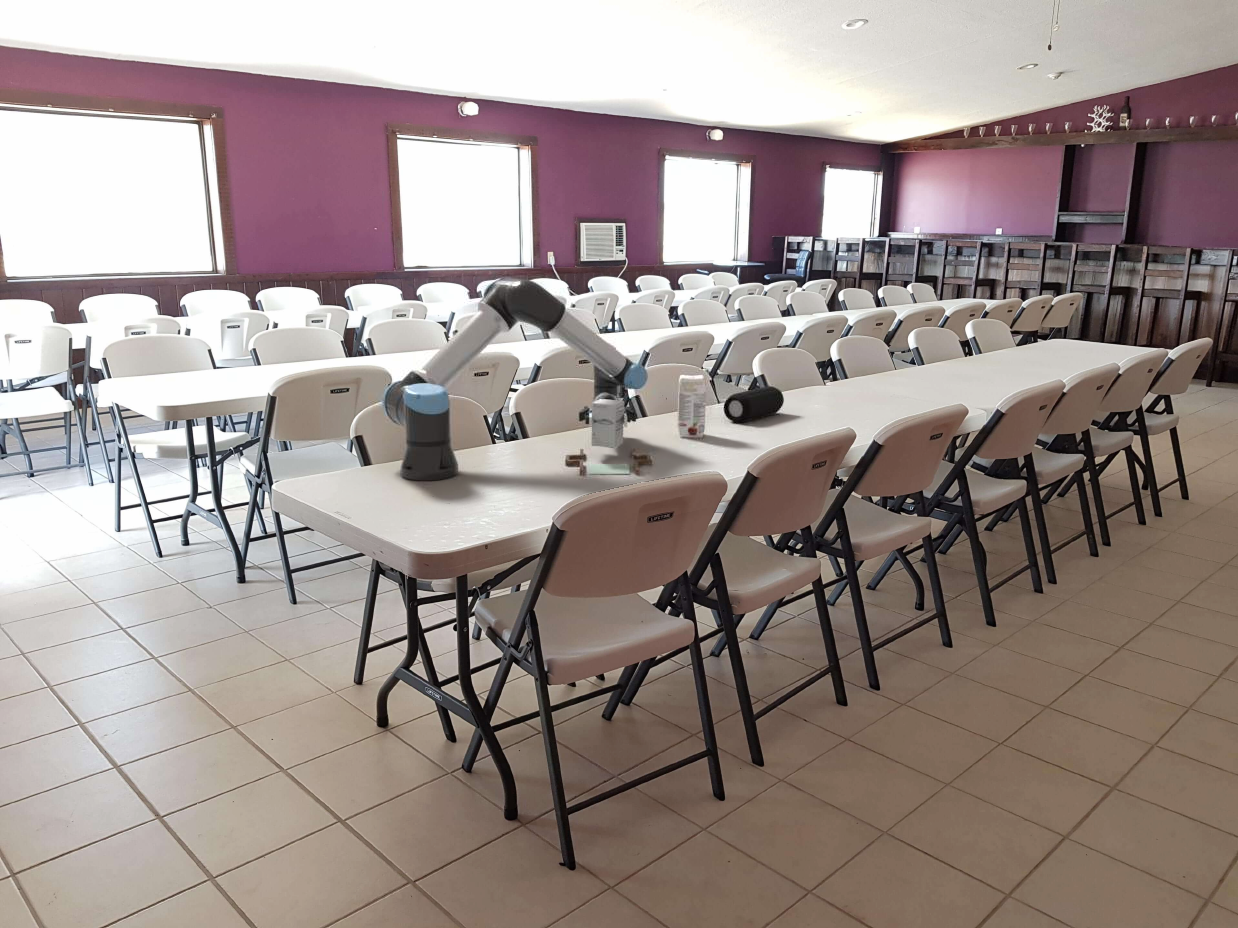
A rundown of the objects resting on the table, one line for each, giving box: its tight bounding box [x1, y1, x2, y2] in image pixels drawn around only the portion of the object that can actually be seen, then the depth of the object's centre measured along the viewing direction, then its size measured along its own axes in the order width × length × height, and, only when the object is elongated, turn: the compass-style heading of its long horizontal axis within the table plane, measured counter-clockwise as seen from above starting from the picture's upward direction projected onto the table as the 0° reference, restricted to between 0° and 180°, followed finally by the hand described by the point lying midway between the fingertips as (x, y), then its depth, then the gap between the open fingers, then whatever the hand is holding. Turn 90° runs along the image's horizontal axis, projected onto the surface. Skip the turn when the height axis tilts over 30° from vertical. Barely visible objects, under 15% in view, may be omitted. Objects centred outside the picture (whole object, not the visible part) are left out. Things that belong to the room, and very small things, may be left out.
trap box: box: [564, 448, 653, 476], centre depth 264 cm, size 24×24×2 cm
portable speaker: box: [723, 385, 785, 424], centre depth 327 cm, size 26×10×10 cm, turn 139°
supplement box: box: [591, 399, 625, 449], centre depth 269 cm, size 7×7×13 cm
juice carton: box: [677, 374, 707, 439], centre depth 298 cm, size 8×9×19 cm
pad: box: [588, 463, 631, 476], centre depth 258 cm, size 11×10×1 cm
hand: (608, 422), depth 264 cm, fingers closed on supplement box, 9 cm apart
